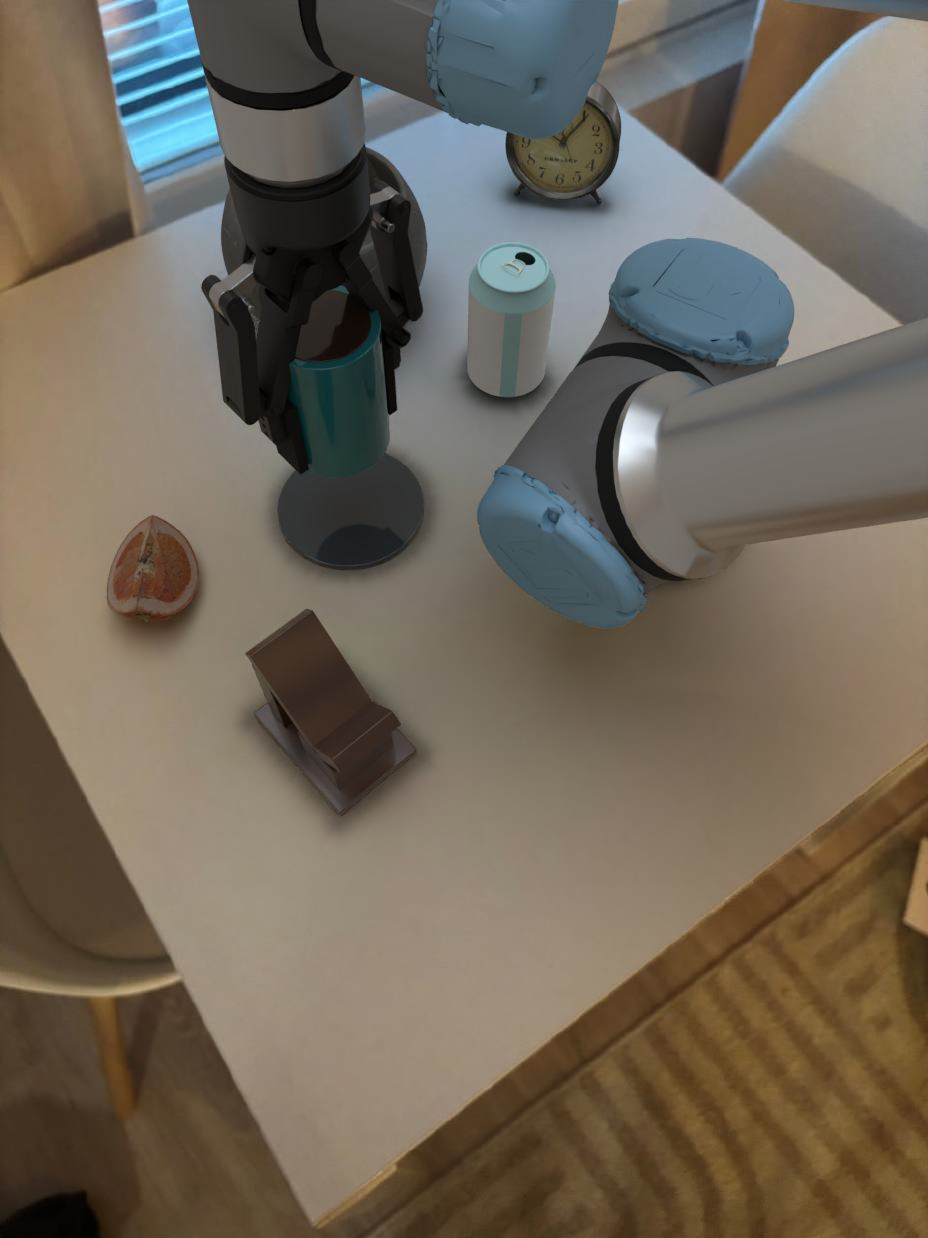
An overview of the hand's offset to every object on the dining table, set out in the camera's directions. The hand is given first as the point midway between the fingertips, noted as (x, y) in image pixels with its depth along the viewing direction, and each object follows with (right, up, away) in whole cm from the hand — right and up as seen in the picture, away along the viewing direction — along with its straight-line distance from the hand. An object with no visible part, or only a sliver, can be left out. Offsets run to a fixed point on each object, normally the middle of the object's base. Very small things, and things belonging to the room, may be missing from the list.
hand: (338, 430), depth 69 cm
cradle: (0, -23, -1) cm, 23 cm away
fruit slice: (-15, -12, +5) cm, 19 cm away
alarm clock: (+19, +30, +28) cm, 45 cm away
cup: (0, +2, -4) cm, 5 cm away
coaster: (0, -5, +9) cm, 10 cm away
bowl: (-3, +15, +20) cm, 25 cm away
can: (+13, +8, +16) cm, 22 cm away
